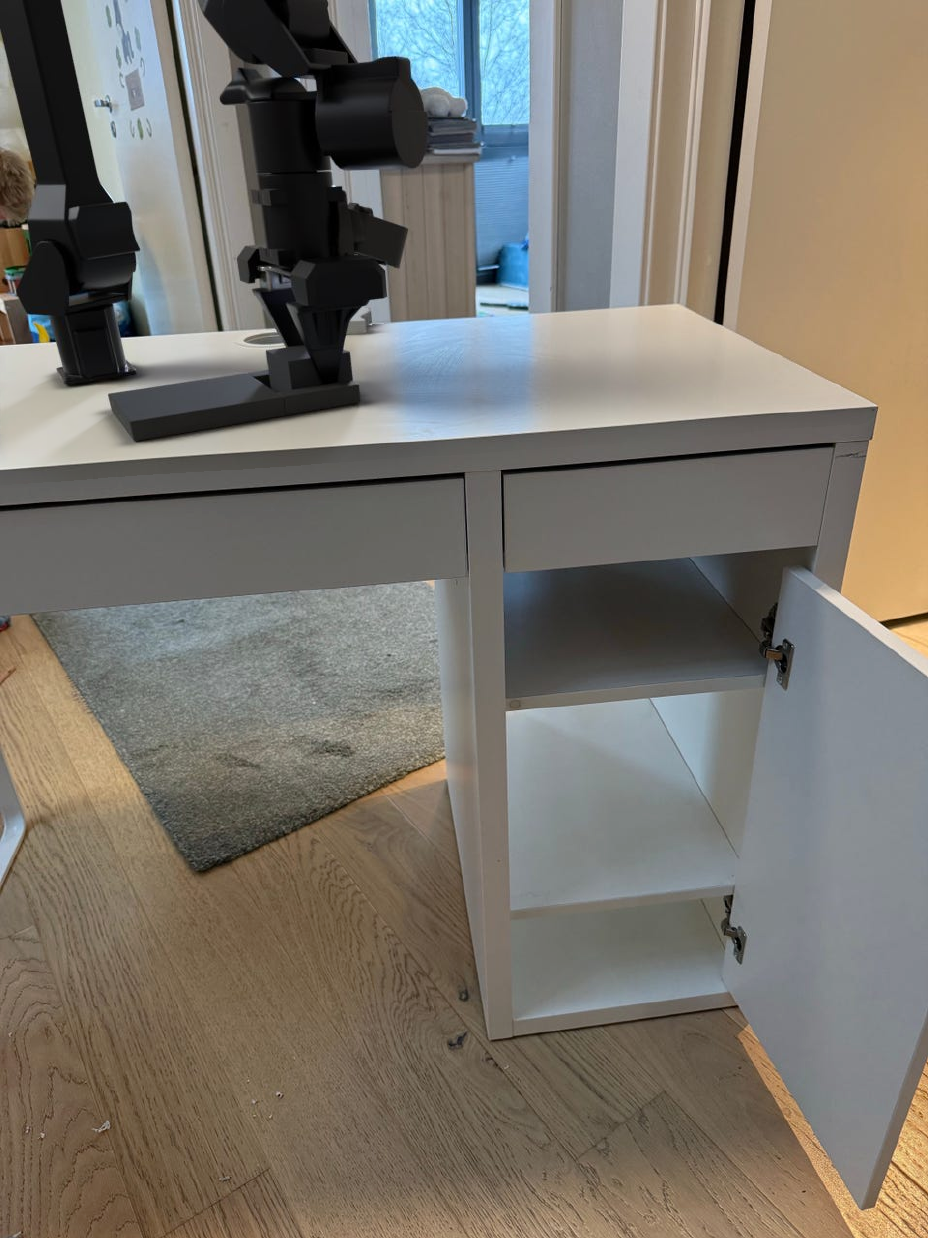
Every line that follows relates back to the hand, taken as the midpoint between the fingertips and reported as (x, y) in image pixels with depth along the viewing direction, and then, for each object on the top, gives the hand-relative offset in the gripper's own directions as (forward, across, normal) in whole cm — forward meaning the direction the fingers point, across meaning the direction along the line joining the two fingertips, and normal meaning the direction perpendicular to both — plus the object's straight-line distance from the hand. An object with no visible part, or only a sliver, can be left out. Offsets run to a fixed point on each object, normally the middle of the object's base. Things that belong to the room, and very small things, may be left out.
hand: (318, 379), depth 73 cm
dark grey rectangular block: (+1, 0, +1) cm, 1 cm away
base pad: (+1, 0, +7) cm, 7 cm away
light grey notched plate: (0, +27, -16) cm, 31 cm away
